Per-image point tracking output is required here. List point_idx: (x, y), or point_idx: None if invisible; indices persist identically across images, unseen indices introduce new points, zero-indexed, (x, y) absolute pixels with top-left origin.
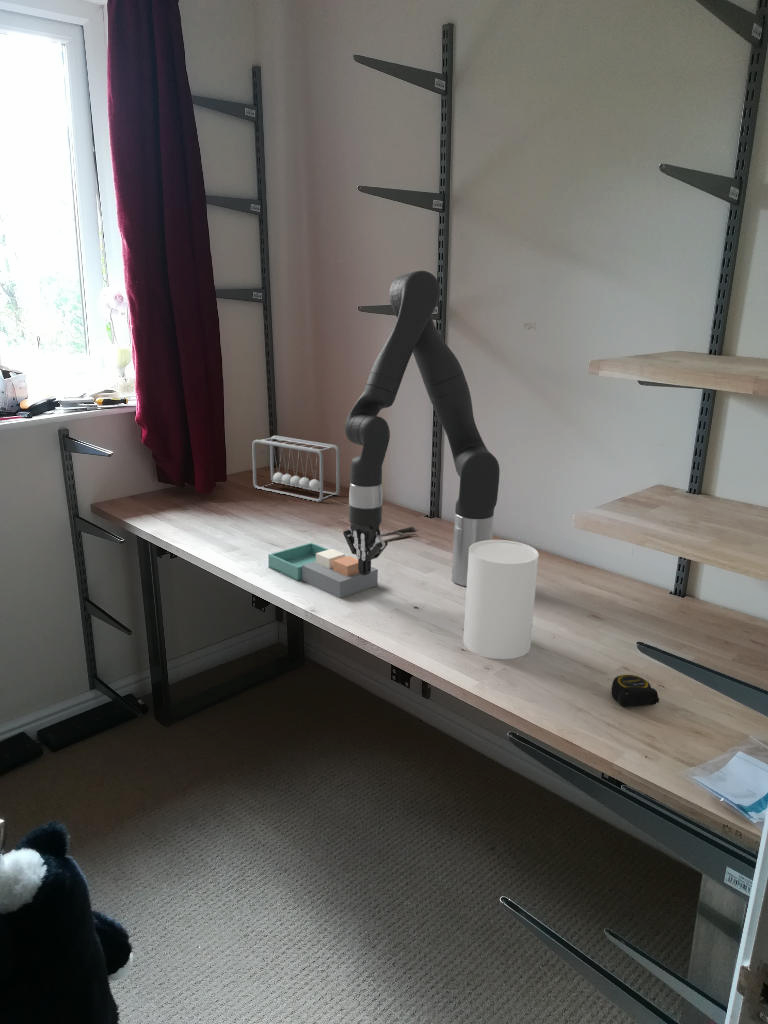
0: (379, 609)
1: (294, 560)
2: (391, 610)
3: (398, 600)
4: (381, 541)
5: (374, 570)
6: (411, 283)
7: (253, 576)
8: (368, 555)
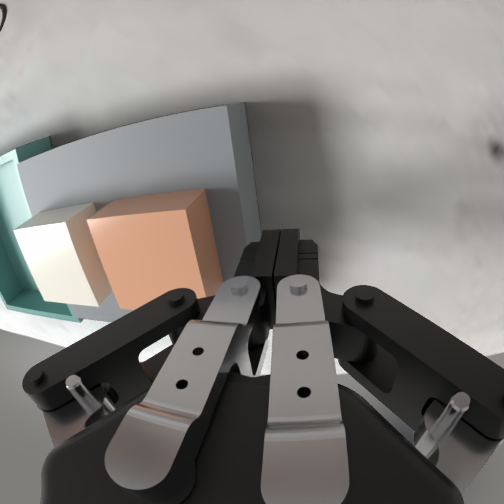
0: (424, 252)
1: (3, 234)
2: (456, 228)
3: (424, 146)
4: (488, 453)
5: (229, 131)
6: None
7: (62, 336)
8: (353, 370)
